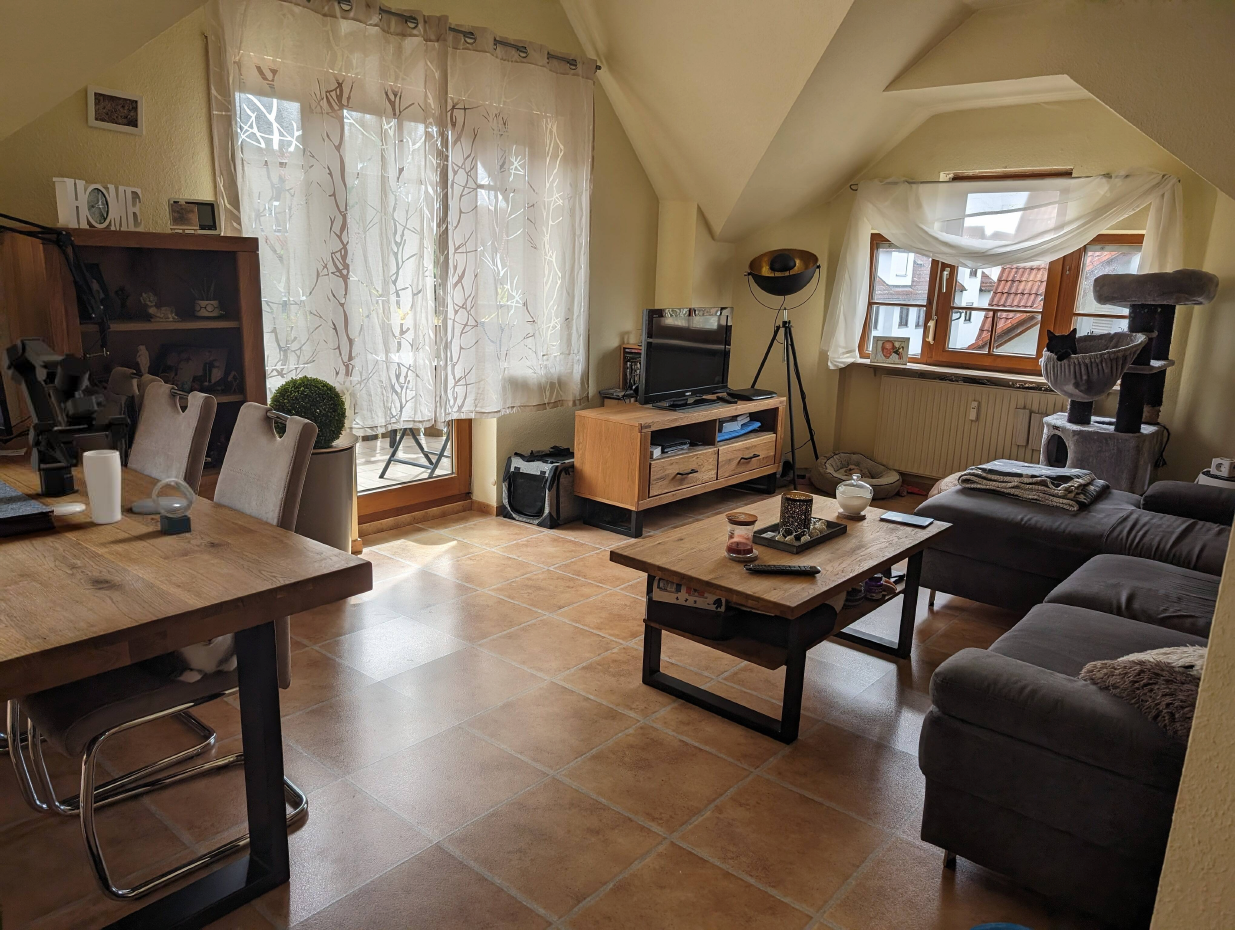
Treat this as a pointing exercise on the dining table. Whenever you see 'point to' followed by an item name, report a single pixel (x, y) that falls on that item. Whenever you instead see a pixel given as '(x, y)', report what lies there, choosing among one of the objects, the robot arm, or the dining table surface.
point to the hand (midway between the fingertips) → (92, 461)
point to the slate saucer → (166, 502)
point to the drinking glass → (103, 485)
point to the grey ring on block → (179, 520)
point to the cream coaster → (67, 508)
